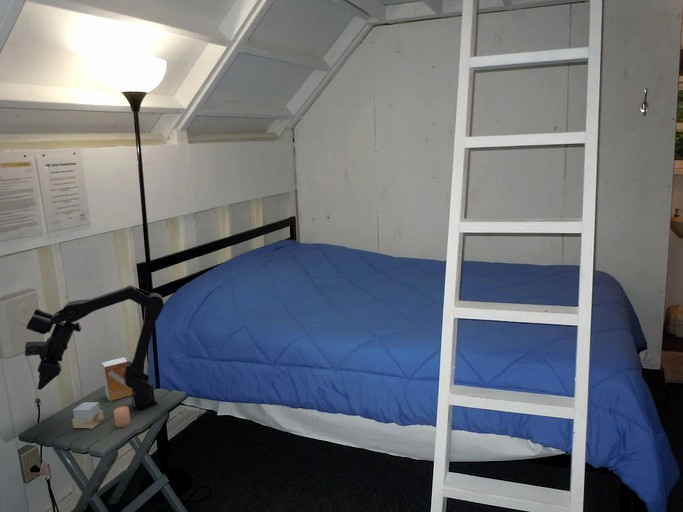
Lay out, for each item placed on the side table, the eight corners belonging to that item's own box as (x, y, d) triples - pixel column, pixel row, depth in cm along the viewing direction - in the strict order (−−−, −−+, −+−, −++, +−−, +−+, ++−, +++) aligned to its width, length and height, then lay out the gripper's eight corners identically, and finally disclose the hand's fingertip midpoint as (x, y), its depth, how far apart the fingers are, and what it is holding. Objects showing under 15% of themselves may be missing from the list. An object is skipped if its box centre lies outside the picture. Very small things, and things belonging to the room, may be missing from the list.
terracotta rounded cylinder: (127, 419, 179) (124, 405, 178) (133, 423, 176) (130, 408, 175) (113, 424, 176) (111, 410, 175) (119, 428, 172) (116, 413, 172)
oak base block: (86, 419, 182) (84, 410, 181) (104, 419, 180) (102, 410, 180) (73, 429, 175) (72, 419, 175) (92, 429, 174) (90, 419, 174)
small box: (109, 402, 194) (104, 367, 192) (106, 396, 199) (100, 362, 197) (133, 395, 198) (128, 360, 196) (129, 390, 204) (124, 356, 201)
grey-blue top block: (85, 410, 180) (83, 402, 180) (100, 410, 179) (98, 402, 179) (74, 418, 175) (72, 410, 174) (89, 418, 174) (88, 409, 173)
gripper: (34, 323, 181) (14, 366, 181) (31, 341, 165) (9, 388, 164) (69, 333, 186) (50, 375, 186) (69, 351, 170) (48, 397, 170)
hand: (39, 383), depth 176 cm, fingers open, 9 cm apart
